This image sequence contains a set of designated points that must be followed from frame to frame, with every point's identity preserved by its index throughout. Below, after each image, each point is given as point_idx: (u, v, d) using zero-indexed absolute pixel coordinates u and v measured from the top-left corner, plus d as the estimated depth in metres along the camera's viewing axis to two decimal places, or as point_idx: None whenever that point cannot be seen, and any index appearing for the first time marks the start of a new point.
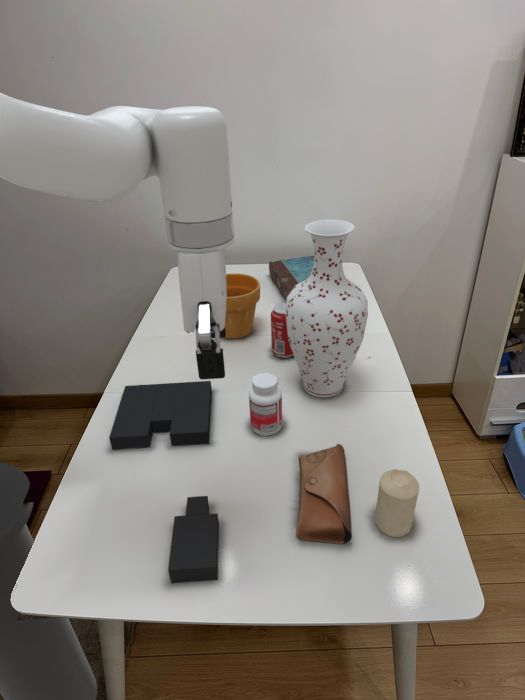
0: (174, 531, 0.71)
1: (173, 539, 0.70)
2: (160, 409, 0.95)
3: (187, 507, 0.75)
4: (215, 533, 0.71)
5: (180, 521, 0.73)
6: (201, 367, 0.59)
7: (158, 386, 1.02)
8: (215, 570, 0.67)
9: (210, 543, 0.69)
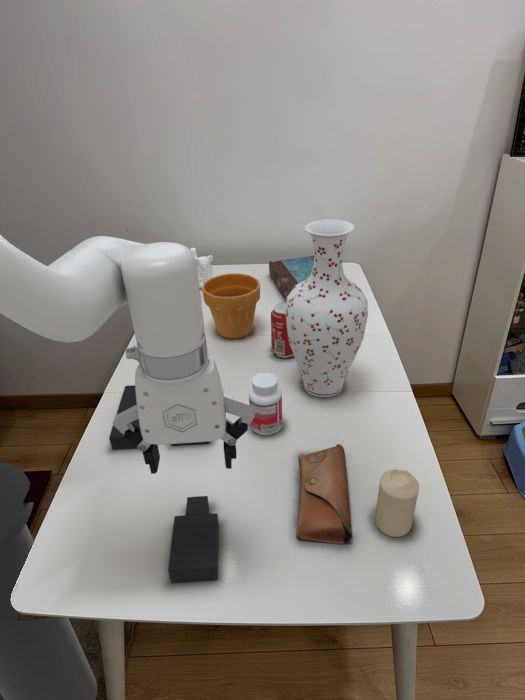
0: (174, 531, 0.71)
1: (173, 539, 0.70)
2: None
3: (187, 507, 0.75)
4: (215, 533, 0.71)
5: (180, 521, 0.73)
6: (230, 457, 0.62)
7: None
8: (215, 570, 0.67)
9: (210, 543, 0.69)
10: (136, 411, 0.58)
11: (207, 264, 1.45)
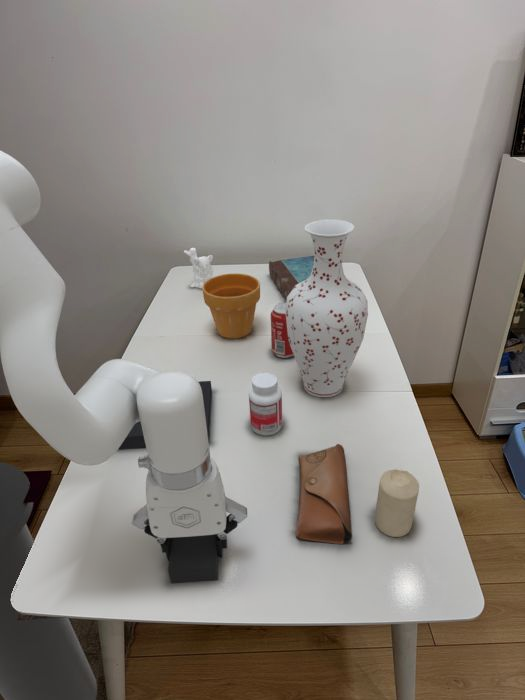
0: None
1: (173, 539, 0.70)
2: None
3: None
4: None
5: None
6: (221, 548, 0.69)
7: None
8: (215, 570, 0.67)
9: (210, 543, 0.69)
10: (148, 510, 0.65)
11: (207, 264, 1.45)
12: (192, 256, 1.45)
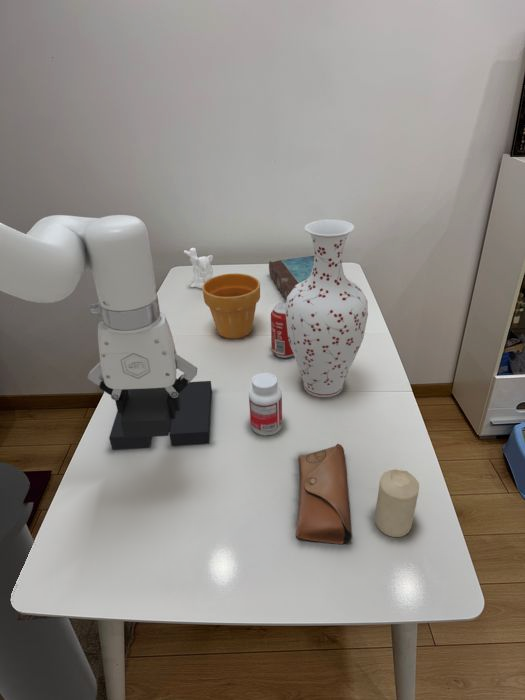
0: (130, 395, 0.75)
1: (128, 401, 0.74)
2: None
3: None
4: None
5: None
6: (173, 408, 0.73)
7: None
8: (165, 424, 0.70)
9: (163, 404, 0.73)
10: None
11: (207, 264, 1.45)
12: (192, 256, 1.45)
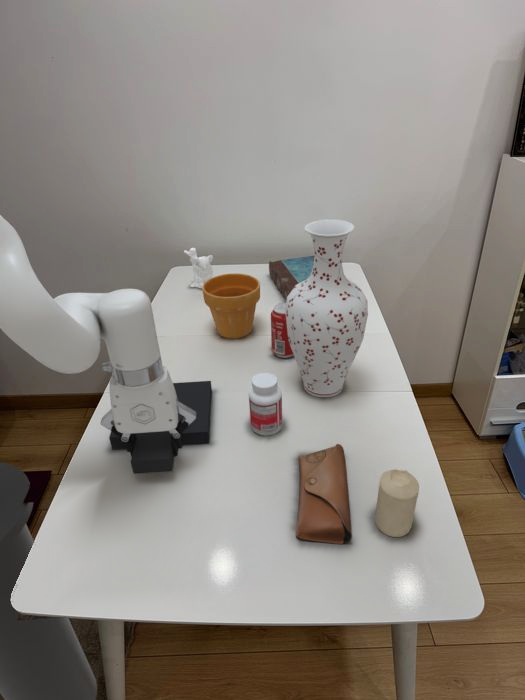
0: (138, 435, 0.85)
1: (136, 441, 0.84)
2: None
3: None
4: None
5: None
6: (176, 447, 0.83)
7: None
8: (169, 462, 0.80)
9: (167, 443, 0.83)
10: None
11: (207, 264, 1.45)
12: (192, 256, 1.45)
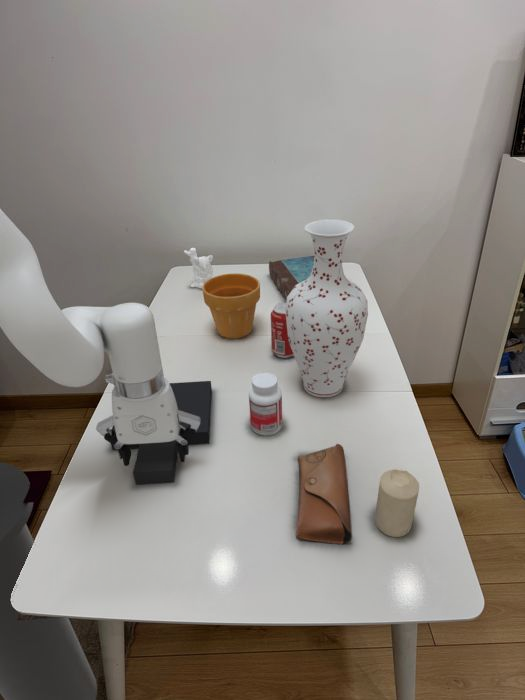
0: (140, 446, 0.86)
1: (139, 452, 0.85)
2: None
3: None
4: (173, 447, 0.86)
5: None
6: (183, 453, 0.84)
7: None
8: (171, 473, 0.82)
9: (169, 454, 0.85)
10: (113, 420, 0.80)
11: (207, 264, 1.45)
12: (192, 256, 1.45)
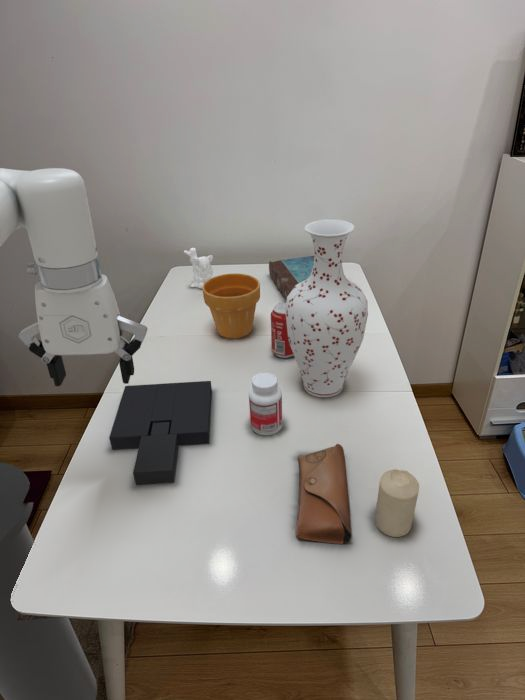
0: (140, 446, 0.86)
1: (139, 452, 0.85)
2: (160, 409, 0.95)
3: (152, 430, 0.90)
4: (173, 447, 0.86)
5: (146, 439, 0.88)
6: (126, 372, 0.70)
7: (158, 386, 1.02)
8: (171, 473, 0.82)
9: (169, 454, 0.85)
10: (39, 325, 0.66)
11: (207, 264, 1.45)
12: (192, 256, 1.45)
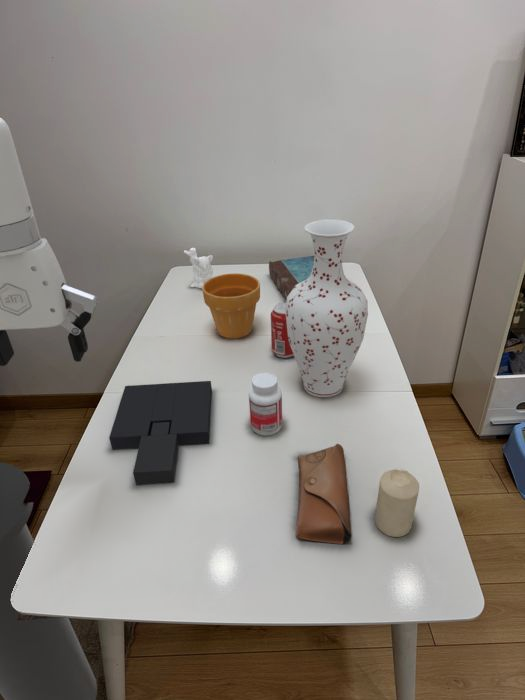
0: (140, 446, 0.86)
1: (139, 452, 0.85)
2: (160, 409, 0.95)
3: (152, 430, 0.90)
4: (173, 447, 0.86)
5: (146, 439, 0.88)
6: (77, 349, 0.63)
7: (158, 386, 1.02)
8: (171, 473, 0.82)
9: (169, 454, 0.85)
10: None
11: (207, 264, 1.45)
12: (192, 256, 1.45)
